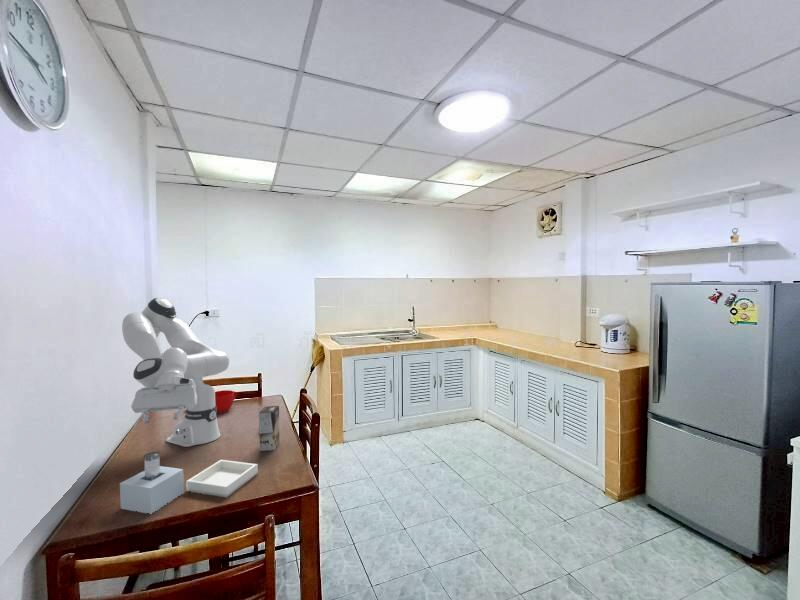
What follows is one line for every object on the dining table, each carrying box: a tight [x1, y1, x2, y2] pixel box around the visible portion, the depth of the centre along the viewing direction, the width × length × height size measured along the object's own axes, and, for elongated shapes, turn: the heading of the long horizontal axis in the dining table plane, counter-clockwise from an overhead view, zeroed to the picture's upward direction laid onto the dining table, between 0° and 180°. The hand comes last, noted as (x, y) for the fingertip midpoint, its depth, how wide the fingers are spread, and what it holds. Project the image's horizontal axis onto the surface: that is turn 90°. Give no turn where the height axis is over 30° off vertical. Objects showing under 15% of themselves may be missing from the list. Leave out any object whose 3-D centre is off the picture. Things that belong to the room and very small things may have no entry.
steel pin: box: [143, 451, 161, 481], centre depth 119 cm, size 4×4×10 cm
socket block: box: [119, 465, 185, 515], centre depth 119 cm, size 12×12×8 cm
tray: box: [185, 459, 259, 498], centre depth 130 cm, size 16×16×4 cm
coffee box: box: [258, 405, 281, 452], centre depth 159 cm, size 9×6×16 cm
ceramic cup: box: [215, 389, 238, 414], centre depth 208 cm, size 13×17×10 cm
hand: (161, 420), depth 130 cm, fingers open, 8 cm apart
